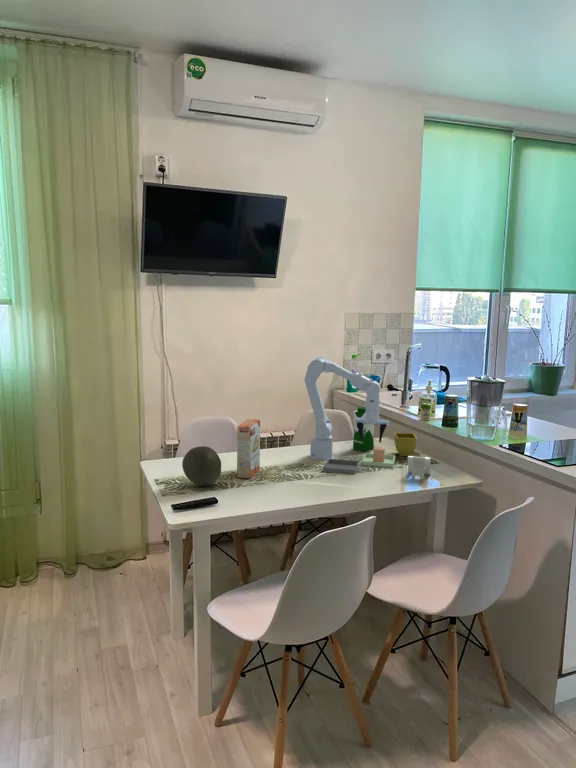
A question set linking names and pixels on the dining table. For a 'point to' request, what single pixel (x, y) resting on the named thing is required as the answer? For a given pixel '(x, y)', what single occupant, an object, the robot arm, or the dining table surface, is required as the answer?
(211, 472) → the dark olive ball
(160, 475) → the dining table surface
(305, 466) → the dining table surface
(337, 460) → the charcoal tray
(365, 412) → the robot arm
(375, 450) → the terracotta block
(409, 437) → the flower pot
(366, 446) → the milk carton
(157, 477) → the dining table surface
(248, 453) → the cracker box
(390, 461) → the green tray
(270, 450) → the dining table surface
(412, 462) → the portable electronic device stand
